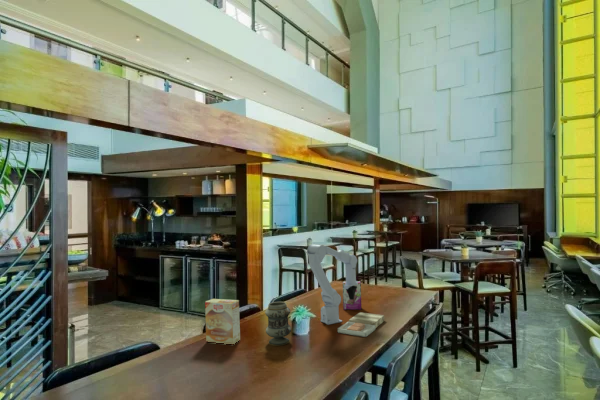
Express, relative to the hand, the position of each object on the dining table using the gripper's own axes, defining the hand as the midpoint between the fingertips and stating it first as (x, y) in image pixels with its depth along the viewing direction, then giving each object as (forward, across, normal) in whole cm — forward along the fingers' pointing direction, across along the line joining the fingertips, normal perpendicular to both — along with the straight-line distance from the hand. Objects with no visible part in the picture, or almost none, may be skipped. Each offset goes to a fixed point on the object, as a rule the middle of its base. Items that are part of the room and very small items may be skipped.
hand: (351, 299), depth 211 cm
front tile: (+7, -26, -12) cm, 30 cm away
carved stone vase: (+10, -53, +14) cm, 56 cm away
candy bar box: (+10, +14, +6) cm, 18 cm away
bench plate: (+9, -9, -12) cm, 18 cm away
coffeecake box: (+10, -64, +39) cm, 76 cm away
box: (+9, -23, -12) cm, 28 cm away
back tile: (+9, -21, -12) cm, 26 cm away
